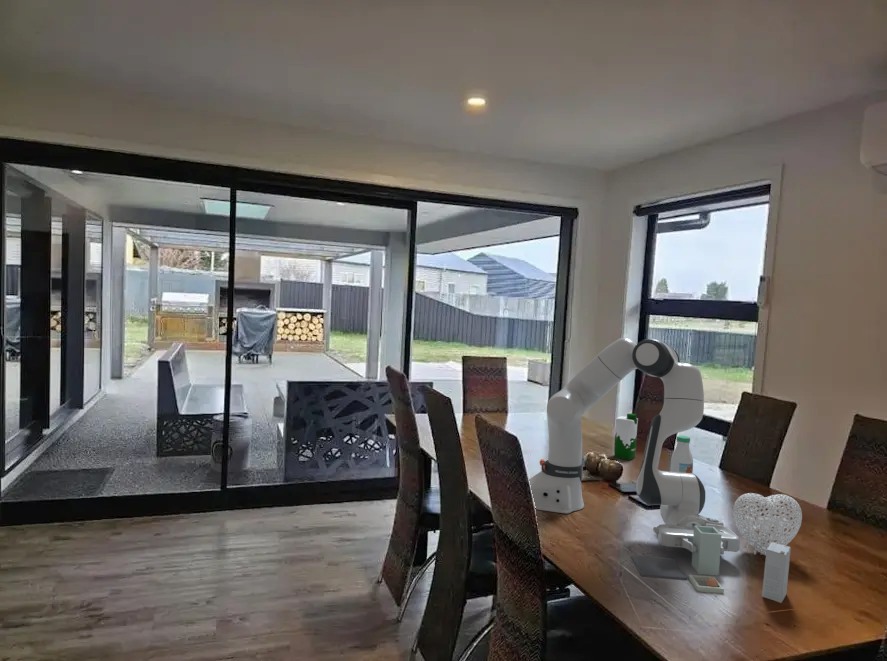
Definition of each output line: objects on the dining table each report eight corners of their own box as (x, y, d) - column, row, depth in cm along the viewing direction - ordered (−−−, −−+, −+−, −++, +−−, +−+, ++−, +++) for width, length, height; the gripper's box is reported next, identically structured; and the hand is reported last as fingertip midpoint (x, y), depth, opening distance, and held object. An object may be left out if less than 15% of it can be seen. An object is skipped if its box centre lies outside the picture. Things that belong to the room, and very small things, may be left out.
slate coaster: (641, 578, 141) (641, 574, 141) (630, 558, 152) (631, 554, 152) (687, 581, 140) (687, 577, 140) (673, 561, 151) (673, 558, 151)
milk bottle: (669, 490, 212) (672, 437, 212) (669, 484, 220) (672, 433, 219) (691, 493, 210) (695, 440, 209) (691, 488, 217) (694, 436, 216)
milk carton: (631, 461, 252) (634, 416, 251) (611, 457, 257) (613, 413, 256) (637, 457, 259) (640, 413, 258) (617, 453, 265) (620, 410, 264)
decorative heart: (785, 548, 164) (789, 489, 163) (808, 565, 153) (813, 502, 152) (722, 545, 164) (726, 486, 163) (741, 561, 153) (745, 499, 152)
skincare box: (766, 589, 138) (769, 540, 138) (787, 596, 135) (791, 546, 135) (760, 599, 133) (764, 548, 133) (782, 606, 131) (786, 554, 130)
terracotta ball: (702, 584, 137) (711, 582, 135) (705, 576, 138) (714, 574, 137) (709, 593, 137) (719, 591, 135) (712, 584, 138) (721, 582, 137)
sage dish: (697, 594, 135) (697, 586, 135) (688, 582, 141) (689, 574, 141) (723, 596, 134) (724, 588, 134) (713, 584, 140) (714, 576, 140)
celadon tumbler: (698, 575, 144) (700, 533, 144) (691, 566, 149) (694, 525, 149) (718, 577, 144) (721, 534, 143) (711, 568, 149) (713, 526, 148)
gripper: (651, 515, 159) (666, 535, 146) (727, 521, 158) (749, 541, 144) (650, 537, 160) (665, 559, 146) (726, 543, 158) (748, 566, 144)
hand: (707, 550), depth 145 cm, fingers closed on celadon tumbler, 5 cm apart
